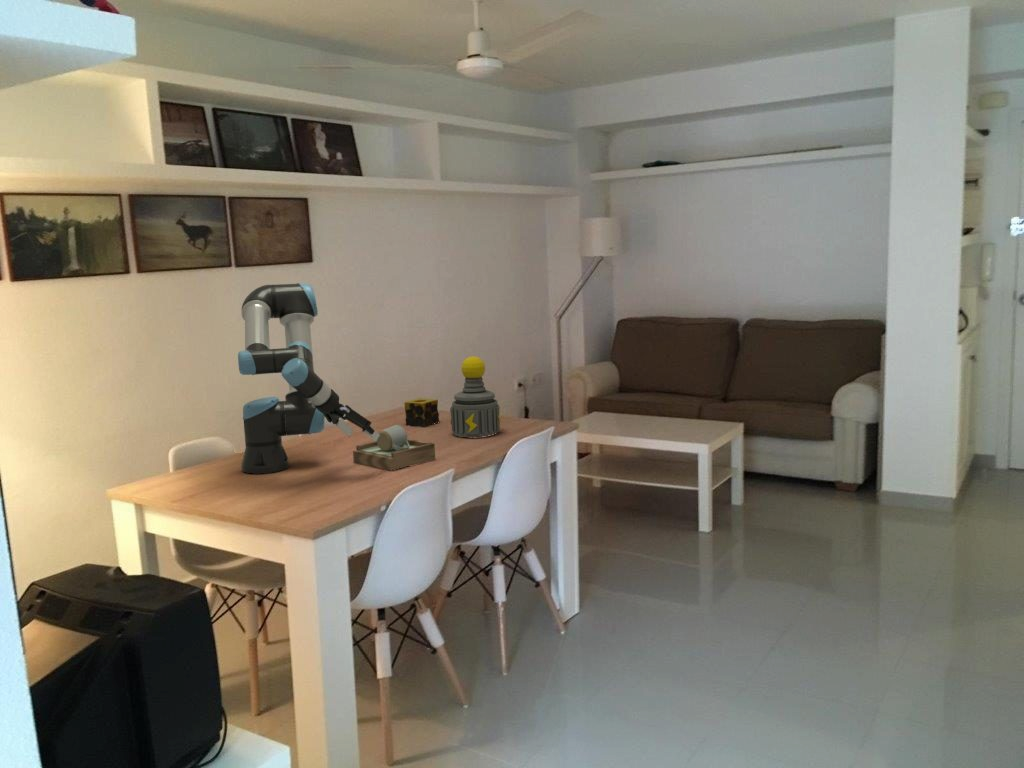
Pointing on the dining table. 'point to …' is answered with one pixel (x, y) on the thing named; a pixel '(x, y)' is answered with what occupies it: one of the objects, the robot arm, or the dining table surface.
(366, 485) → the dining table surface
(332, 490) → the dining table surface
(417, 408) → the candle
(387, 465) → the walnut tray
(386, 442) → the ceramic mug
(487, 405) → the decorative lamp
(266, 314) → the robot arm
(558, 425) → the dining table surface
